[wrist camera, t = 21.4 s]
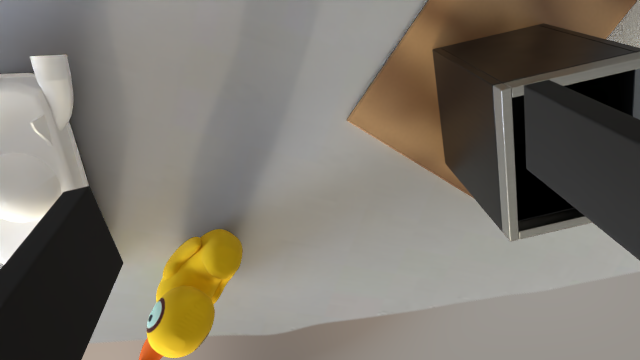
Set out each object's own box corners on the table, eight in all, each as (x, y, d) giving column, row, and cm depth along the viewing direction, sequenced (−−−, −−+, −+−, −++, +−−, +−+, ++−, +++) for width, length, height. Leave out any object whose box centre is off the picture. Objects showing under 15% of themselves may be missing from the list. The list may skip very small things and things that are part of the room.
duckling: (186, 316, 48) (167, 401, 39) (137, 288, 47) (105, 370, 38) (260, 235, 46) (258, 306, 36) (211, 201, 44) (196, 267, 35)
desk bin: (649, 209, 32) (661, 53, 28) (510, 241, 32) (501, 90, 28) (546, 140, 44) (544, 23, 40) (445, 163, 44) (432, 49, 40)
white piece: (6, 280, 45) (-29, 324, 40) (-71, 52, 37) (-129, 69, 31) (126, 272, 46) (108, 313, 40) (77, 46, 38) (45, 61, 32)
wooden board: (473, 197, 46) (474, 199, 46) (346, 119, 42) (347, 121, 41) (634, 0, 40) (637, 0, 40) (504, -113, 36) (507, -114, 35)
